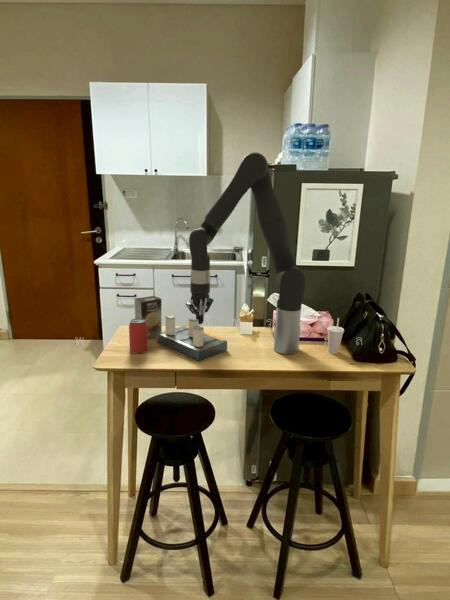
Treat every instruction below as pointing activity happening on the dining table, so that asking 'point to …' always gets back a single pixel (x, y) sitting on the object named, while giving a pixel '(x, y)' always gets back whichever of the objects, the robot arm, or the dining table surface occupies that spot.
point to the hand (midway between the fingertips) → (199, 323)
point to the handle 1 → (170, 325)
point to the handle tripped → (192, 325)
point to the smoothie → (334, 338)
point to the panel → (185, 344)
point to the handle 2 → (198, 336)
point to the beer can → (138, 335)
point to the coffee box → (149, 314)
